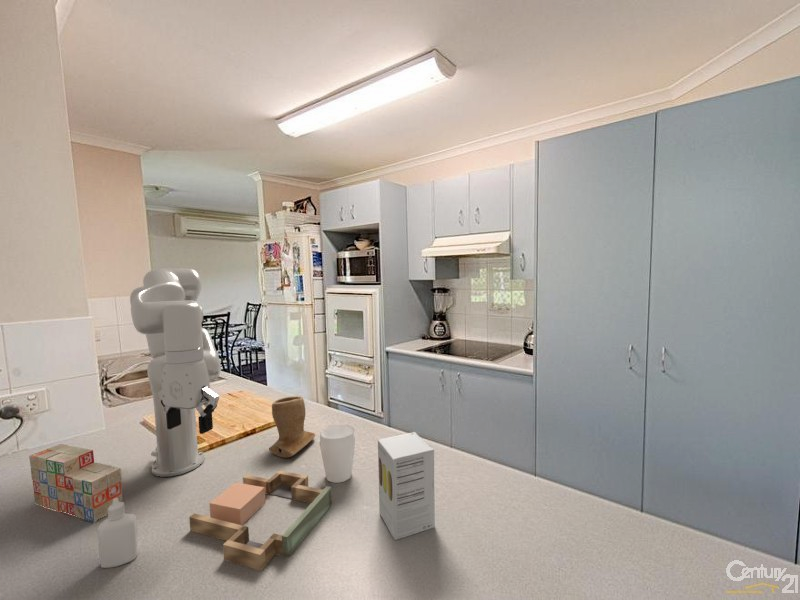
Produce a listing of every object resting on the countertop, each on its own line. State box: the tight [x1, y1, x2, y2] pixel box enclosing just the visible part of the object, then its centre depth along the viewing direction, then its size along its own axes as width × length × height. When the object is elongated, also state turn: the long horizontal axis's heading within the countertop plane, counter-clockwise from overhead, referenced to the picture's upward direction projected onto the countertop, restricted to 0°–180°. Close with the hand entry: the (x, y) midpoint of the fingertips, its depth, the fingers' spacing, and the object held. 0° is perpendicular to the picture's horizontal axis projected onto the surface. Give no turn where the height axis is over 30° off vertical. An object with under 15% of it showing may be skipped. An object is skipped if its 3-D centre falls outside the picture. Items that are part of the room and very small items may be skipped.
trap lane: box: [188, 470, 333, 571], centre depth 79 cm, size 24×24×4 cm
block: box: [209, 482, 266, 526], centre depth 81 cm, size 8×8×4 cm
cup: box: [319, 423, 356, 484], centre depth 94 cm, size 9×9×12 cm
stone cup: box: [268, 395, 316, 459], centre depth 110 cm, size 15×12×15 cm
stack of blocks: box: [28, 443, 124, 523], centre depth 84 cm, size 21×6×12 cm, turn 71°
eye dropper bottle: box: [97, 498, 140, 569], centre depth 67 cm, size 4×6×12 cm
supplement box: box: [377, 431, 436, 541], centre depth 76 cm, size 10×9×17 cm
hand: (190, 429), depth 84 cm, fingers open, 9 cm apart
